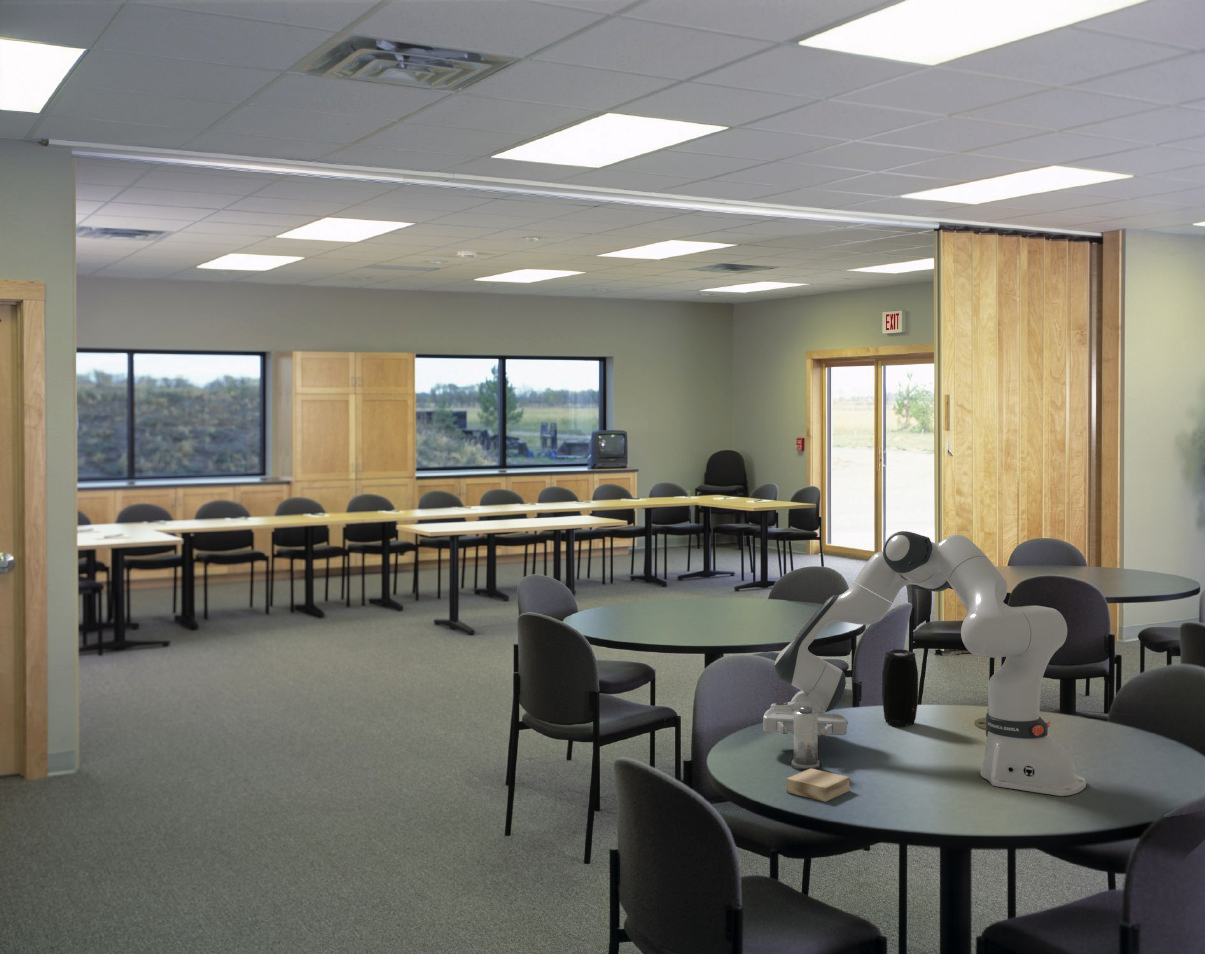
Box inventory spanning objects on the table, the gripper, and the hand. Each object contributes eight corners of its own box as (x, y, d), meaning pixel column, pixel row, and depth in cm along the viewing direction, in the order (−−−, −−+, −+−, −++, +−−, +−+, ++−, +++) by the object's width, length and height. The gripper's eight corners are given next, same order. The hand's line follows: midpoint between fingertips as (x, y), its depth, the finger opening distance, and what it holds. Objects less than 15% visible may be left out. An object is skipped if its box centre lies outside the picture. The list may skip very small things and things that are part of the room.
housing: (825, 765, 272) (825, 707, 271) (810, 772, 267) (809, 712, 266) (801, 760, 276) (801, 703, 276) (786, 766, 271) (785, 708, 271)
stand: (849, 790, 253) (849, 777, 253) (825, 801, 246) (825, 787, 246) (810, 781, 260) (810, 768, 260) (786, 791, 253) (786, 778, 253)
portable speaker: (923, 726, 307) (924, 653, 306) (891, 728, 305) (892, 655, 304) (907, 718, 315) (907, 647, 314) (876, 720, 313) (876, 649, 312)
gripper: (847, 732, 286) (848, 746, 272) (765, 727, 290) (761, 742, 276) (848, 707, 285) (848, 720, 272) (765, 703, 290) (761, 716, 276)
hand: (804, 731), depth 274 cm, fingers open, 8 cm apart
